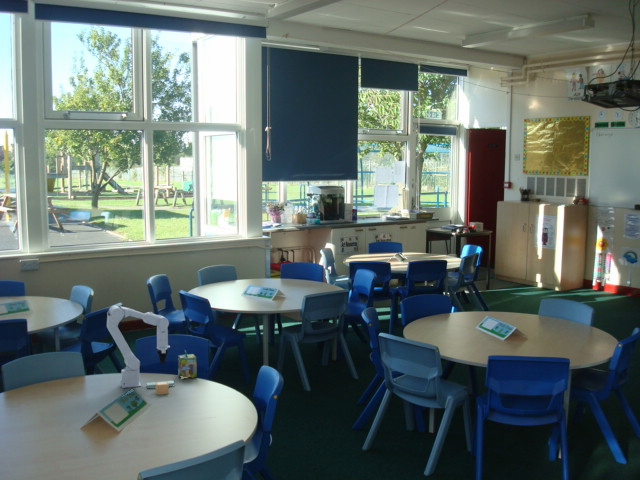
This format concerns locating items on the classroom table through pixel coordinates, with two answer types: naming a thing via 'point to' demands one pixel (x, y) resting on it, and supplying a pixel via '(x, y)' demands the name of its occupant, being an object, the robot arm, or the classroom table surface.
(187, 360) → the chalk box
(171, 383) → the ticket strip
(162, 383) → the stub
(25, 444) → the classroom table surface
